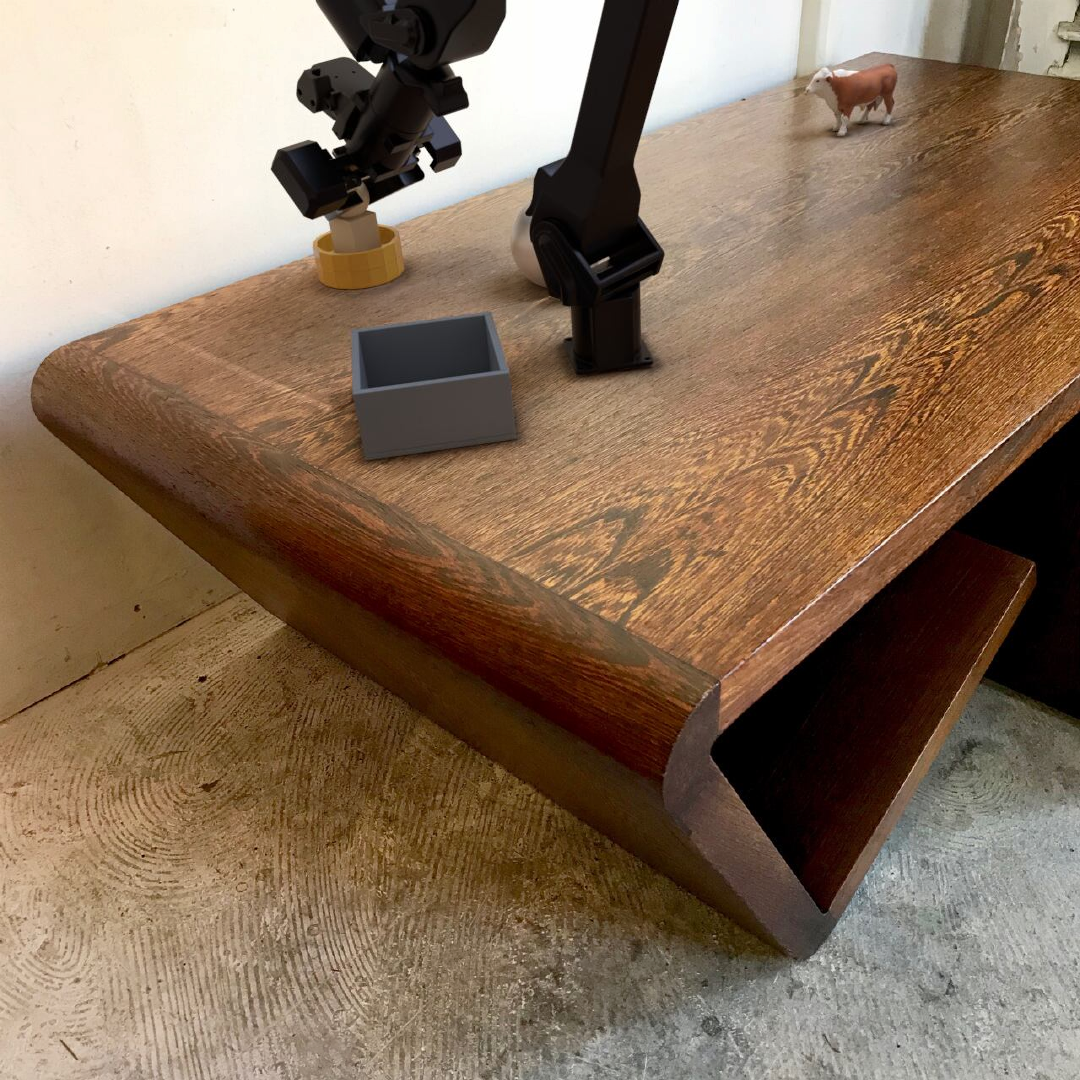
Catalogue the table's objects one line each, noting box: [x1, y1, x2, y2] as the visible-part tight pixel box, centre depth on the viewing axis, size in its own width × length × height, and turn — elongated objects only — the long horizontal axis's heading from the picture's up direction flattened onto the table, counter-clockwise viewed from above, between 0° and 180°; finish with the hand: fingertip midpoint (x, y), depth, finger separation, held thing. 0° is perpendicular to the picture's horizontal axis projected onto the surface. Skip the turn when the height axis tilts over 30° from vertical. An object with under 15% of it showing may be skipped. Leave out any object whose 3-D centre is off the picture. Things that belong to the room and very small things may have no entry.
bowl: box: [312, 223, 406, 290], centre depth 106 cm, size 9×9×4 cm
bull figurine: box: [805, 62, 898, 137], centre depth 134 cm, size 4×13×8 cm, turn 115°
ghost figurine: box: [509, 198, 599, 289], centre depth 98 cm, size 9×10×10 cm
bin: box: [350, 311, 517, 461], centre depth 81 cm, size 11×11×6 cm
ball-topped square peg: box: [328, 182, 381, 253], centre depth 104 cm, size 4×4×10 cm
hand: (342, 210), depth 104 cm, fingers closed on ball-topped square peg, 4 cm apart
